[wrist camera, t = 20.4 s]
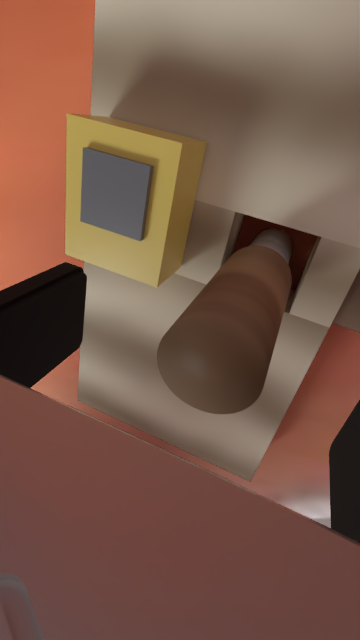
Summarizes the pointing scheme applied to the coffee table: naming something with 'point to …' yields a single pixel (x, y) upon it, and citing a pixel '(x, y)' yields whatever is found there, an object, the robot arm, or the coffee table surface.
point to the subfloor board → (230, 194)
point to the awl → (230, 329)
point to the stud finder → (129, 196)
